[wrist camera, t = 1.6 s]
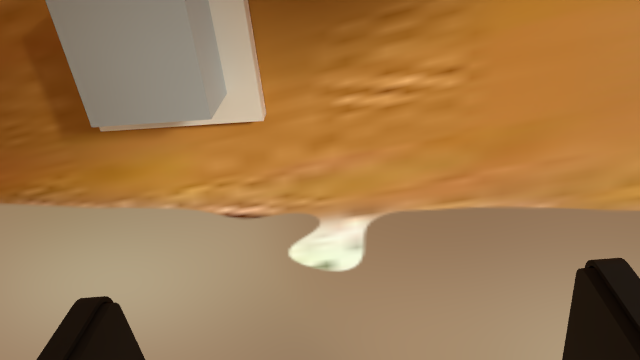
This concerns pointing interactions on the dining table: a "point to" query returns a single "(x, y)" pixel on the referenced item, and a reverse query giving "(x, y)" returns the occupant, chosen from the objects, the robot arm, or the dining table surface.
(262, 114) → the plate
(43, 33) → the dining table surface
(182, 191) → the dining table surface
